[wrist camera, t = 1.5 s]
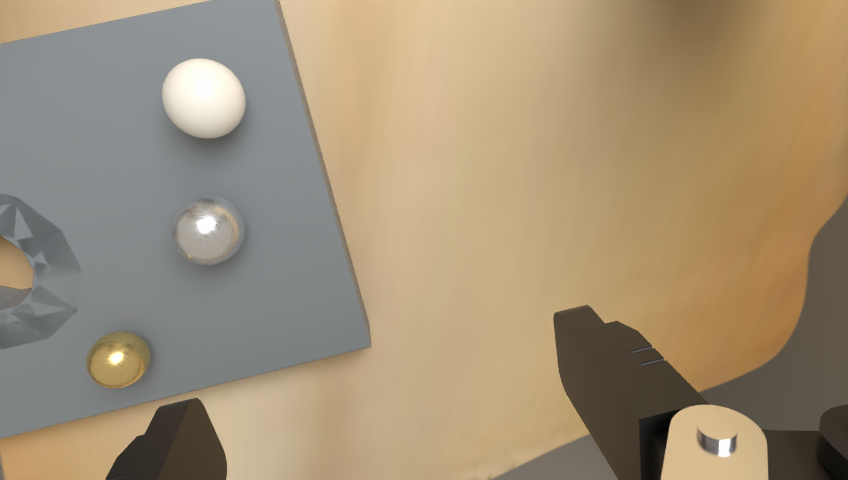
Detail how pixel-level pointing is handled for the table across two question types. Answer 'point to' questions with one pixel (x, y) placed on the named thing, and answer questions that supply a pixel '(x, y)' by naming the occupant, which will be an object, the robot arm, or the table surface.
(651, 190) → the table surface
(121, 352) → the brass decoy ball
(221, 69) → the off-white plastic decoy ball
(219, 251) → the steel ball
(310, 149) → the plate
